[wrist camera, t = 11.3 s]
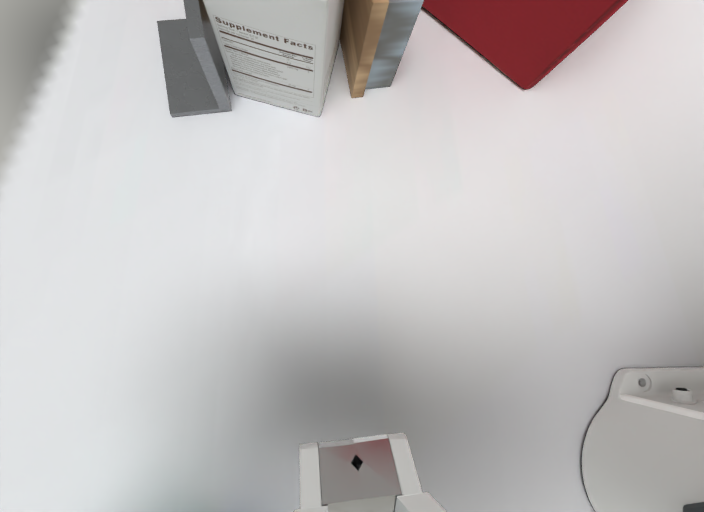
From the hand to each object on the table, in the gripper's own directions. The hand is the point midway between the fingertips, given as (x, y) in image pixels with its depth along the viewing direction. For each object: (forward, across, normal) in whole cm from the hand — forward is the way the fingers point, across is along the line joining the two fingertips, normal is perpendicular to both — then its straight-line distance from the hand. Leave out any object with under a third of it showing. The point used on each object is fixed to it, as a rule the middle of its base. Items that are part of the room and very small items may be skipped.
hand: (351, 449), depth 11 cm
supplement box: (+36, +2, -8) cm, 37 cm away
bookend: (+36, +11, -8) cm, 38 cm away
